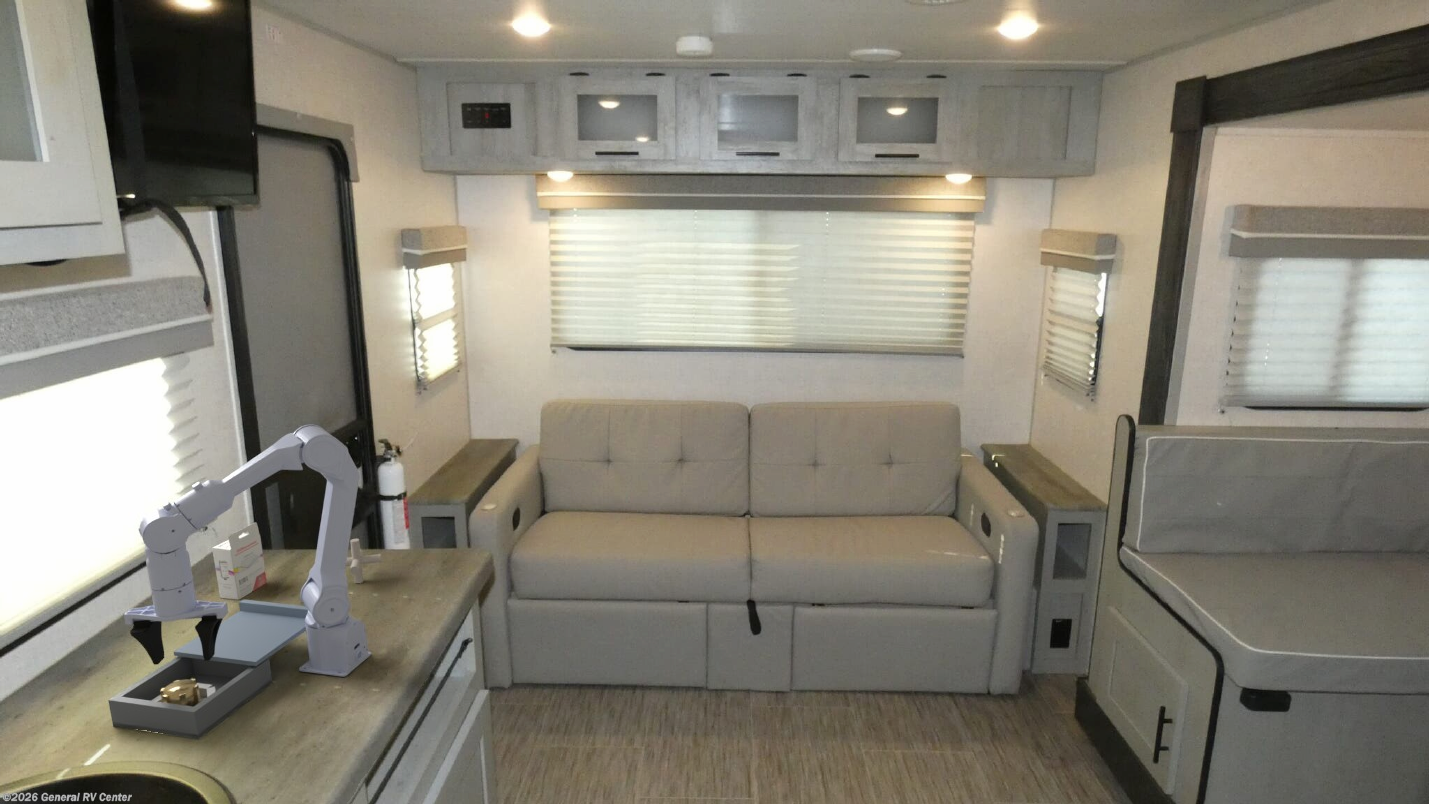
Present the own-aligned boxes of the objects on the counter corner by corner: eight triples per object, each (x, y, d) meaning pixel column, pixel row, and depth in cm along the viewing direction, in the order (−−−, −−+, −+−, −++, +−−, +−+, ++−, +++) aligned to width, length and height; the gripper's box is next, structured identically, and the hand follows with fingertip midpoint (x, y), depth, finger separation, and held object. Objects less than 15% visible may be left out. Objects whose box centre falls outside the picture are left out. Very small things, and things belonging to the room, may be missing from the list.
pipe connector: (337, 575, 184) (333, 534, 182) (384, 570, 187) (380, 529, 185) (331, 594, 175) (326, 551, 172) (380, 588, 178) (376, 546, 175)
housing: (272, 683, 142) (269, 658, 141) (198, 739, 126) (194, 712, 125) (194, 672, 145) (190, 648, 144) (113, 726, 129) (108, 700, 128)
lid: (320, 620, 153) (318, 607, 152) (256, 666, 137) (254, 652, 137) (245, 611, 156) (243, 599, 156) (174, 655, 141) (172, 642, 140)
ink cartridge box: (248, 581, 181) (240, 519, 178) (267, 583, 180) (259, 521, 177) (218, 598, 173) (208, 534, 170) (238, 600, 172) (229, 536, 169)
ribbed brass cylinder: (203, 709, 133) (200, 688, 132) (167, 722, 129) (163, 700, 128) (197, 695, 136) (193, 674, 135) (162, 707, 133) (158, 685, 132)
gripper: (231, 569, 135) (241, 643, 138) (135, 575, 132) (148, 650, 135) (212, 588, 128) (224, 665, 131) (111, 594, 126) (125, 673, 129)
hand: (184, 659), depth 133 cm, fingers open, 7 cm apart
